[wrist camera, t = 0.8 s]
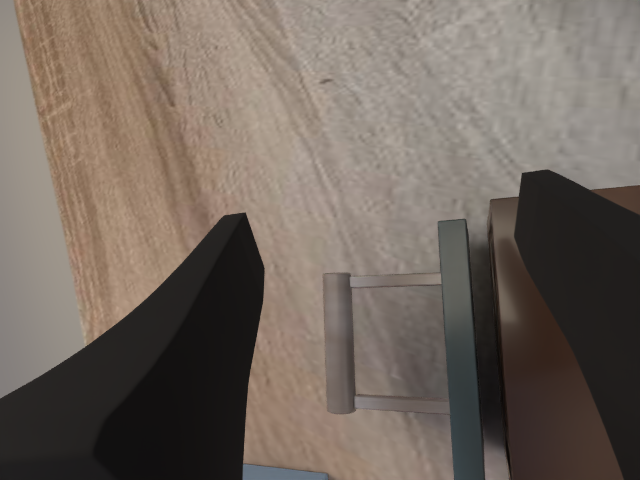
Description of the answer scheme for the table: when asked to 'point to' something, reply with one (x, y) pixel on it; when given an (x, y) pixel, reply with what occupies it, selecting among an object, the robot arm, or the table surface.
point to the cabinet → (543, 368)
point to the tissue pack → (279, 474)
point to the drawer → (457, 340)
